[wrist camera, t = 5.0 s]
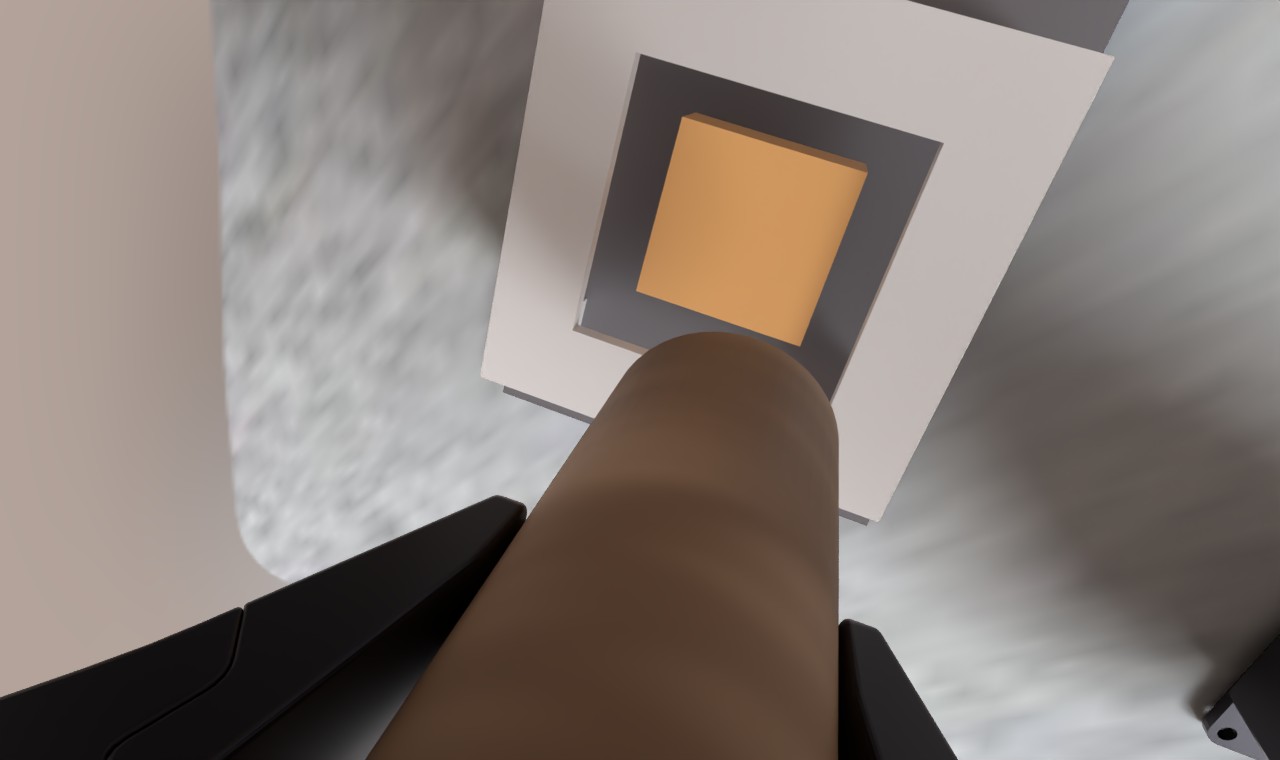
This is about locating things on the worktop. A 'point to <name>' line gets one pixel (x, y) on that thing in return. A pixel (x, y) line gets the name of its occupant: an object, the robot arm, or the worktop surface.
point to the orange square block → (748, 226)
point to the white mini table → (815, 117)
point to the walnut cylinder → (659, 582)
